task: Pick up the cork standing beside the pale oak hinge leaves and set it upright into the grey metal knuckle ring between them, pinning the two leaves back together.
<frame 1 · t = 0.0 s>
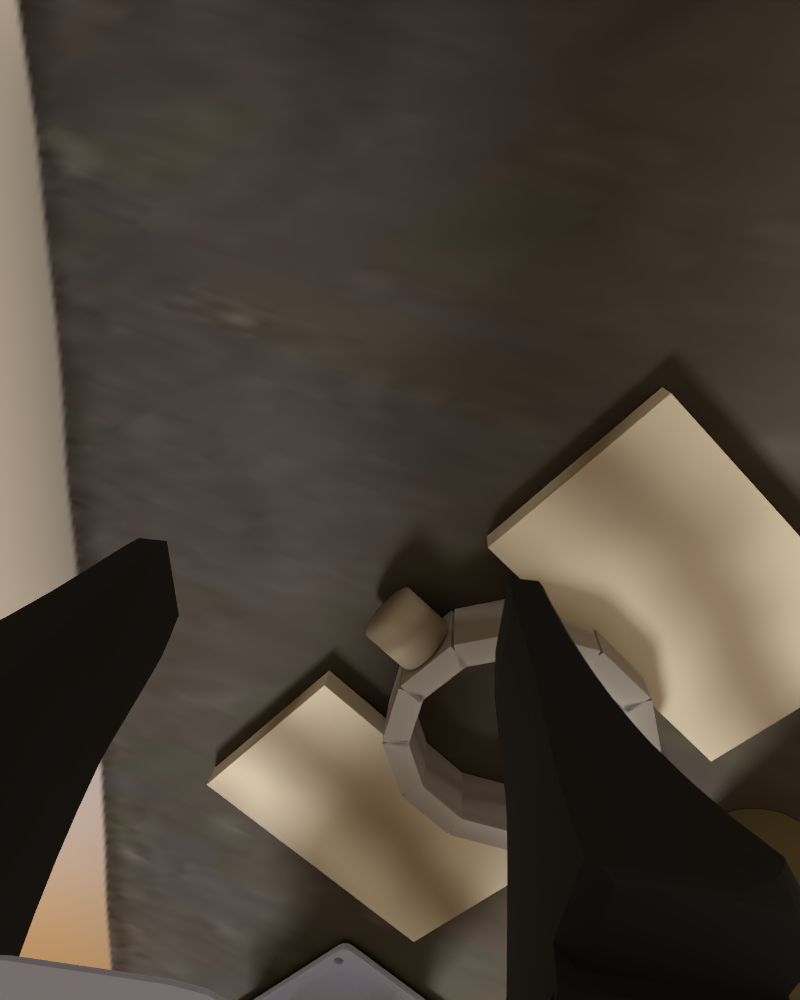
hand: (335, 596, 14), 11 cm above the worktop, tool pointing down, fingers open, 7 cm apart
hinge base: (514, 706, 27), on the worktop
cork: (743, 855, 29), on the worktop
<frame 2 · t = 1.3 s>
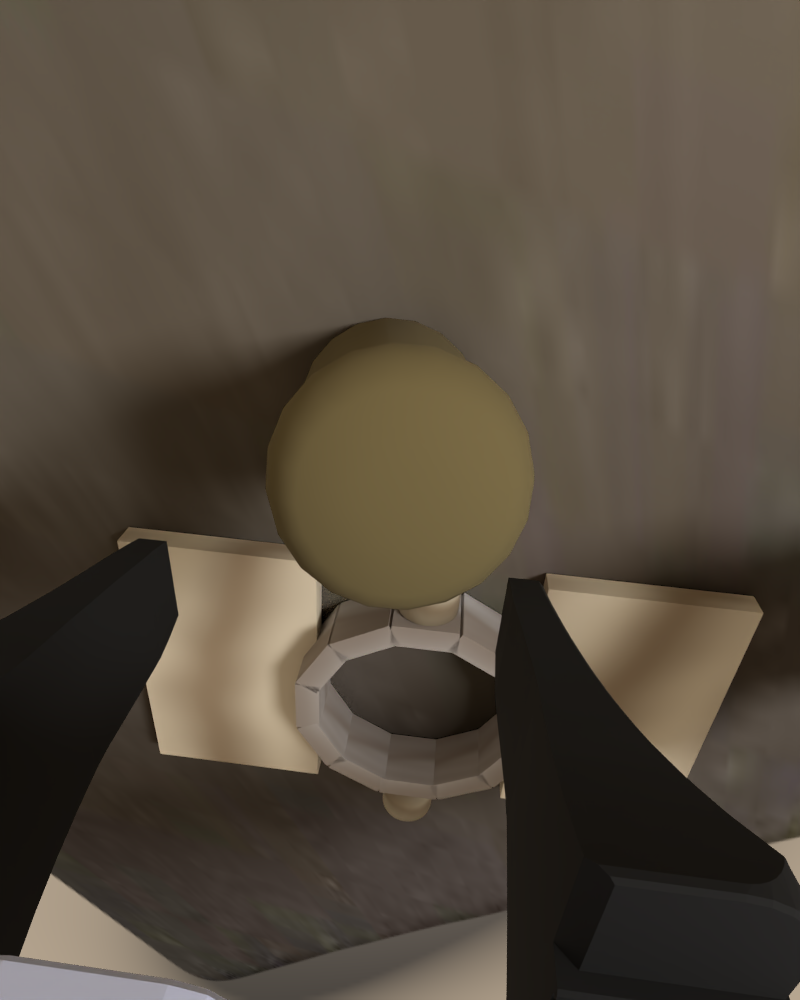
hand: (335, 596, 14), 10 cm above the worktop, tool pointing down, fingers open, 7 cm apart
hinge base: (420, 676, 29), on the worktop
cork: (390, 410, 22), point 1 cm above the worktop
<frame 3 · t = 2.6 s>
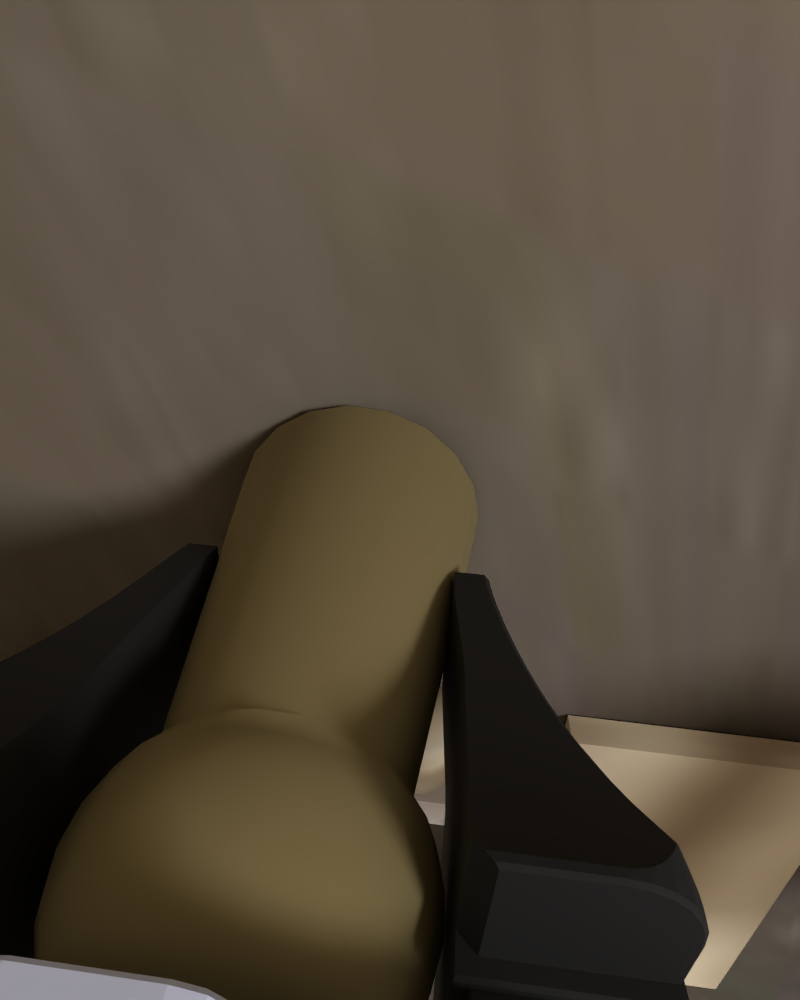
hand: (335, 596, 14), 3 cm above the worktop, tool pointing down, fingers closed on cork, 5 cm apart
hinge base: (406, 823, 23), on the worktop
cork: (360, 510, 17), on the worktop, touching gripper
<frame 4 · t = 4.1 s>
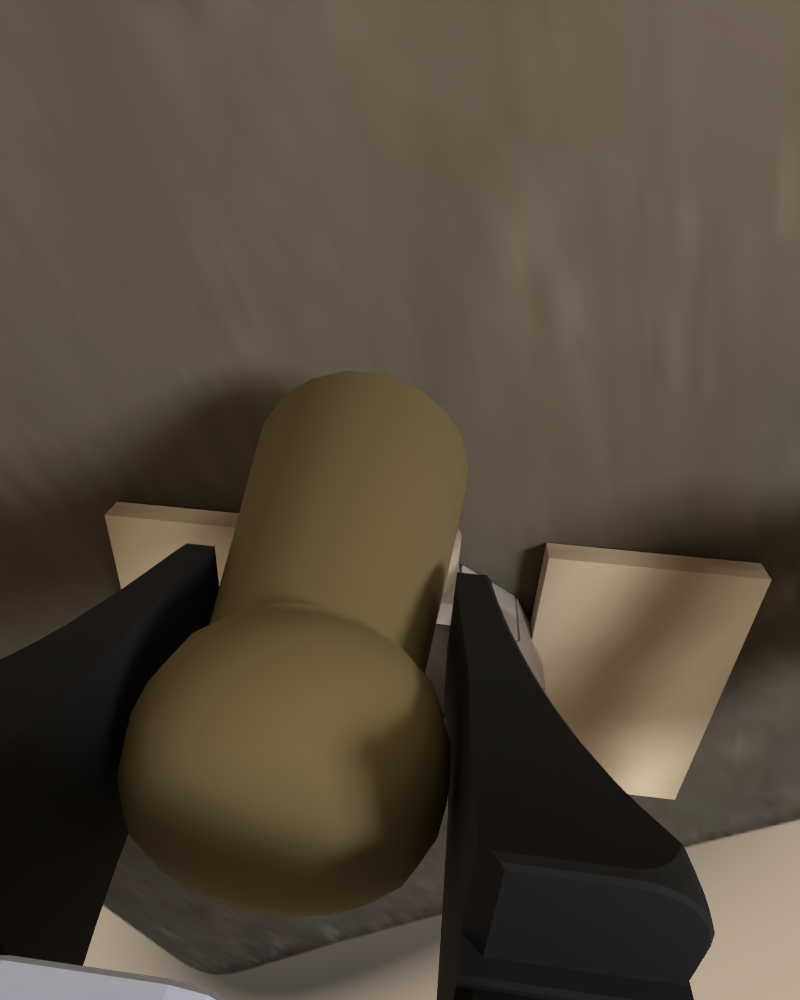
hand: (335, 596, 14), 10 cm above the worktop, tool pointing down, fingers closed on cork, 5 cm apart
hinge base: (418, 654, 28), on the worktop
cork: (362, 468, 18), point 5 cm above the worktop, touching gripper
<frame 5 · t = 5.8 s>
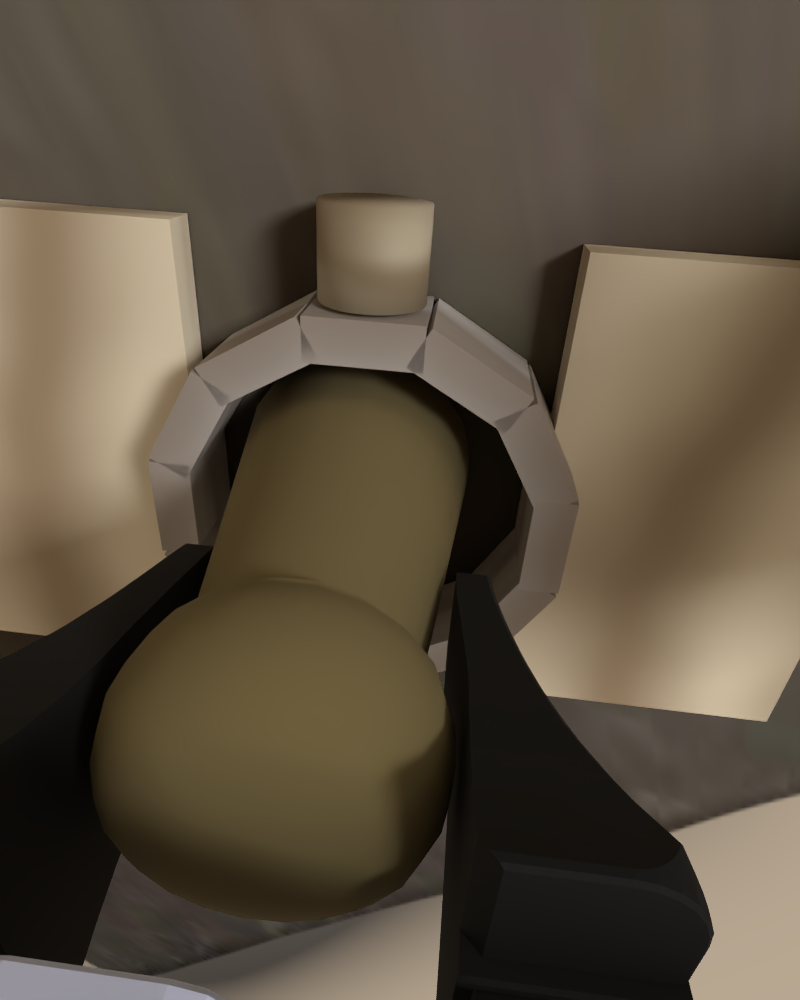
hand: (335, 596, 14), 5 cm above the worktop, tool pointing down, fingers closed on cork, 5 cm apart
hinge base: (372, 479, 18), on the worktop
cork: (359, 456, 18), resting in hinge base, touching gripper
when the fingers open (5 cm above the worktop, at t = 6.3 s): cork stays where it is, resting in hinge base.
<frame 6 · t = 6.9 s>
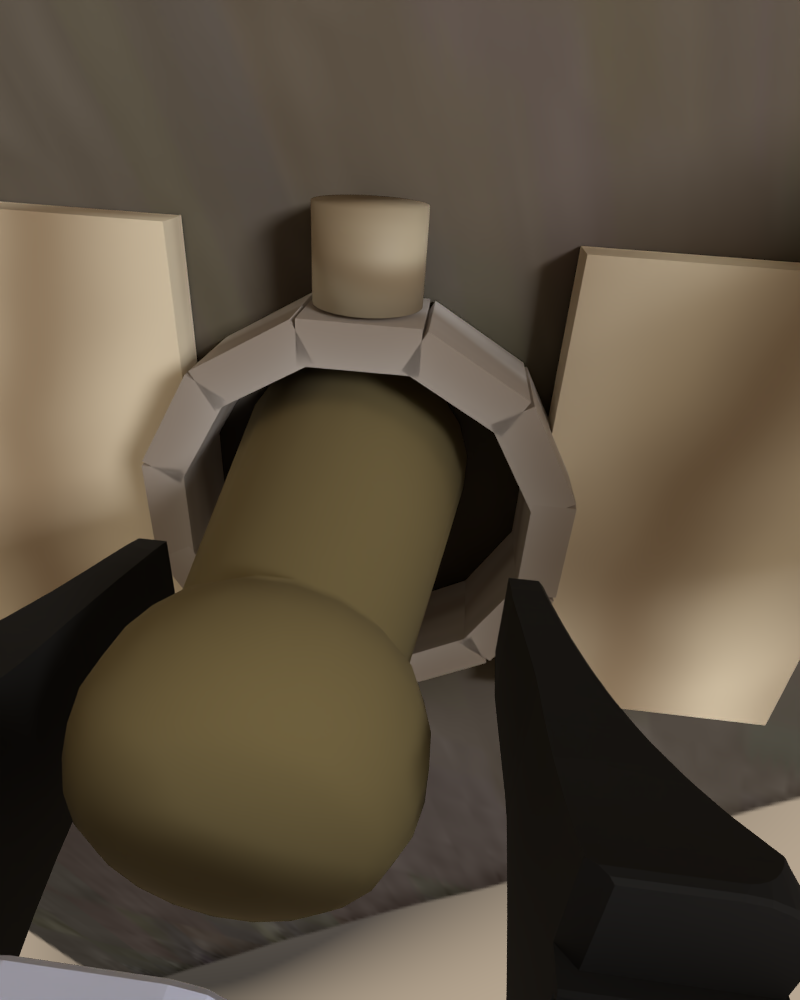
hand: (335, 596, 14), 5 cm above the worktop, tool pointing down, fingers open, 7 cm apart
hinge base: (368, 482, 18), on the worktop
cork: (356, 457, 18), resting in hinge base
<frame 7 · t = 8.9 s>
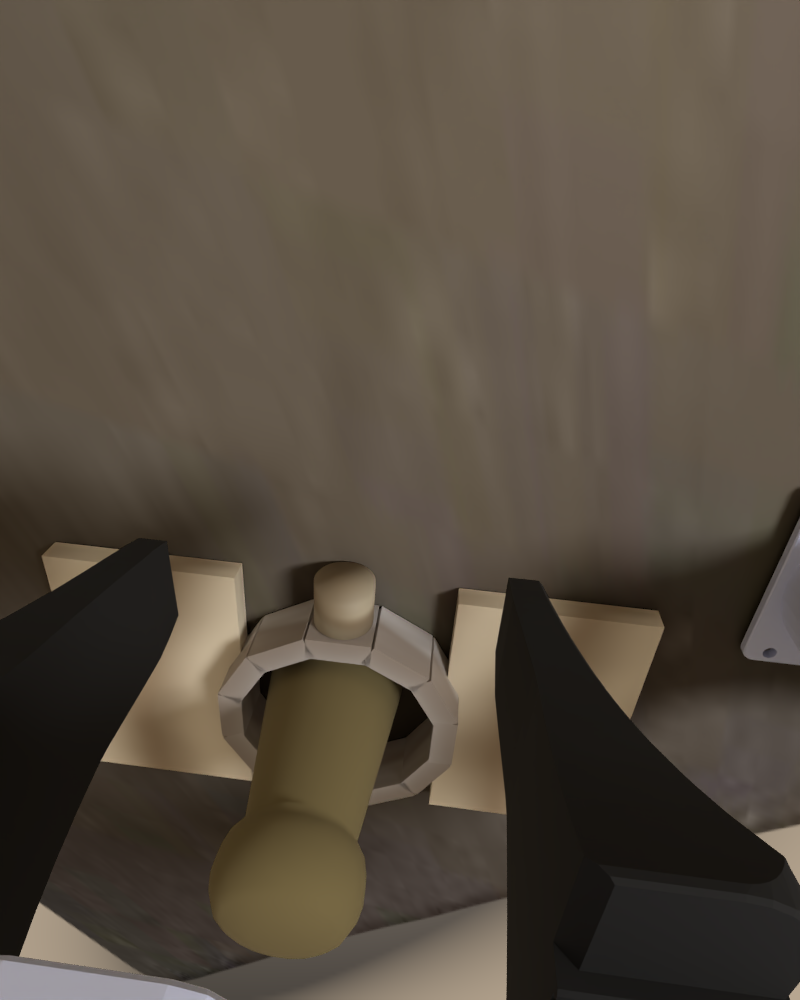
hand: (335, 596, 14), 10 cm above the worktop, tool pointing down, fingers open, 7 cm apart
hinge base: (346, 686, 30), on the worktop
cork: (339, 672, 30), resting in hinge base
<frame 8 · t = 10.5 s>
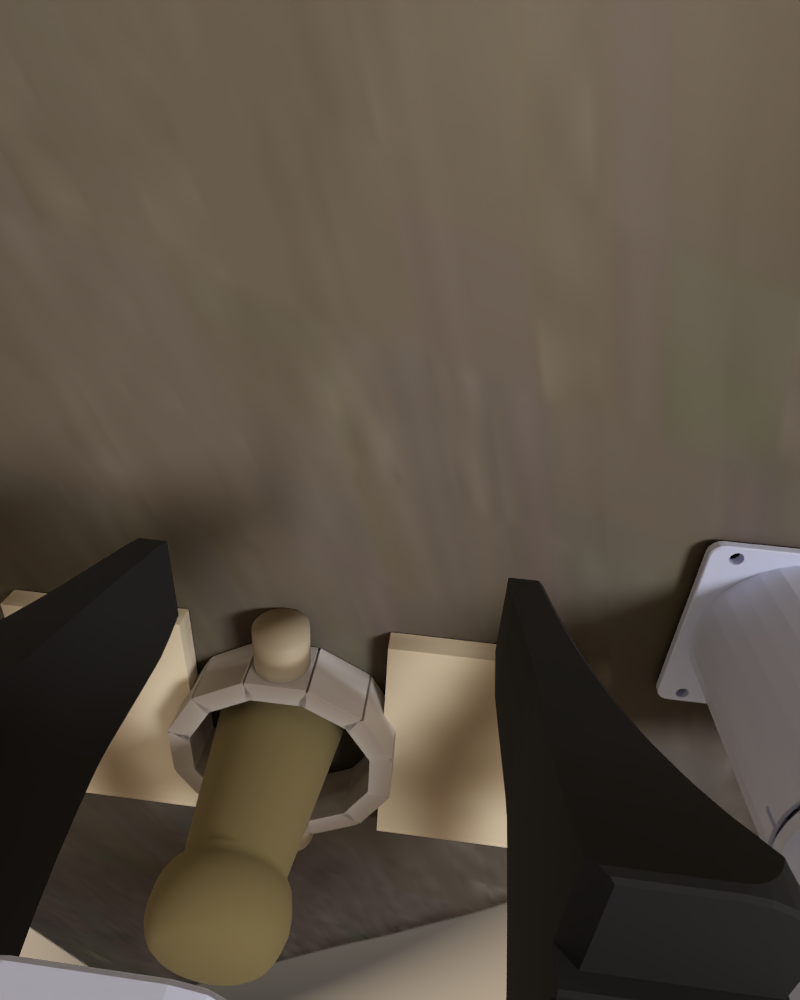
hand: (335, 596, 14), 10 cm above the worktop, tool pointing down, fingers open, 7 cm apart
hinge base: (293, 721, 31), on the worktop
cork: (286, 707, 31), resting in hinge base
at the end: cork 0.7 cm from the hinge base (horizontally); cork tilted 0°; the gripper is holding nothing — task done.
